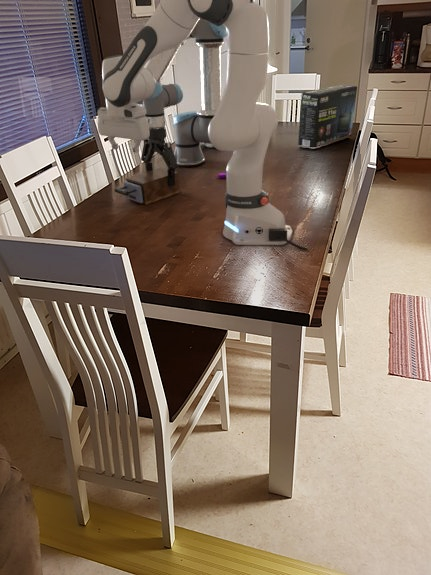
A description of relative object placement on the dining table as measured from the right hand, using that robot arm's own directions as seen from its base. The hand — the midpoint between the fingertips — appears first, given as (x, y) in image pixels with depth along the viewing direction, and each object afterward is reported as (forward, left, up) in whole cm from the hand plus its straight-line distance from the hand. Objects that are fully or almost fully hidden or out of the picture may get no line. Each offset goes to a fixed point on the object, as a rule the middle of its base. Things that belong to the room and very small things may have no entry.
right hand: (125, 150), depth 161 cm
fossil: (-4, -95, -22) cm, 97 cm away
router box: (-62, -108, -22) cm, 126 cm away
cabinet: (-2, -15, -22) cm, 26 cm away
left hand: (-4, -18, -17) cm, 25 cm away
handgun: (-29, -36, -22) cm, 51 cm away
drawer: (0, -10, -21) cm, 23 cm away
